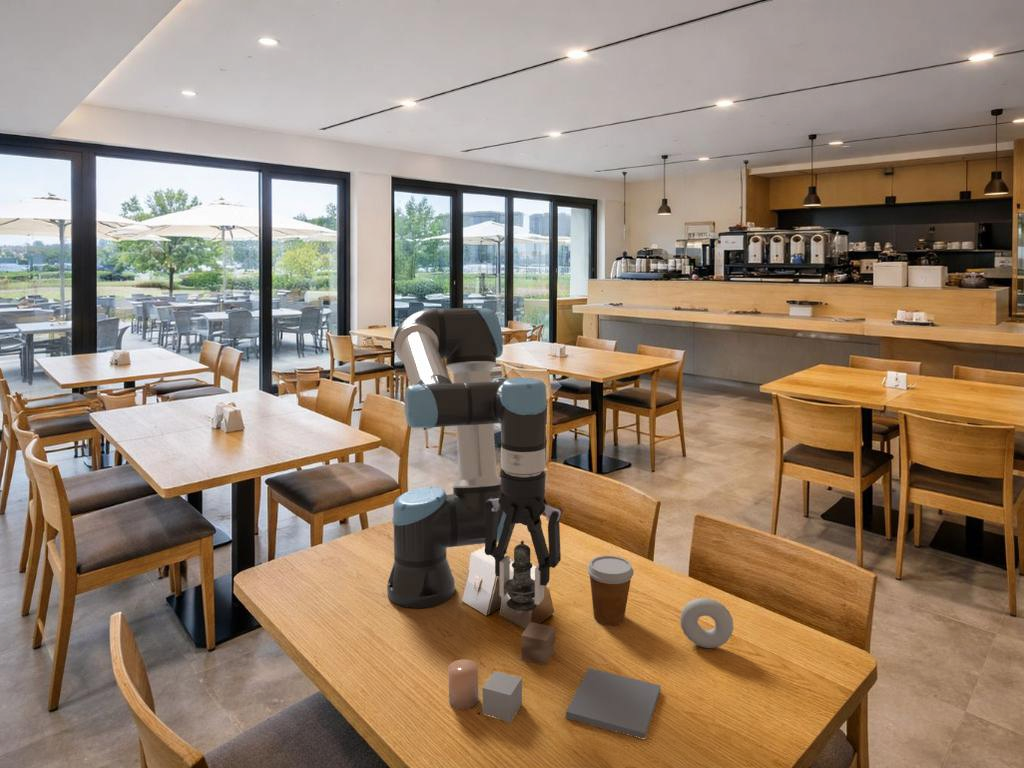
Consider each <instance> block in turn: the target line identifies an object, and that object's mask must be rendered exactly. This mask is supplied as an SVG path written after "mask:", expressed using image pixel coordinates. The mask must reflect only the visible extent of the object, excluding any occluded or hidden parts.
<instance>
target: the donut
mask: <svg viewBox="0 0 1024 768" xmlns="http://www.w3.org/2000/svg"><path fill="white" fill-rule="evenodd" d="M730 612H731V611H729V610H728V609H727V607H726V606H725V605H724V604H722V603H721V602H720V601H718V600H716V599H713V598H709V597H697V598H693V599H692V600H690V601H688V603H686V604H685V605H684V607H683V608H682V610H681V612H680V617H679V620H680V627H681V629H682V631H683V633H684V635H685V636H686V638H687V639H688V640H689V641H690V642H692V643H693V644H695V645H697V646H699V647H701V648H704V649H706V648H707V649H714V648H717V647H722V646H723V645H725V644H726V643H727V642H728V641H729V640H730V639H731V637H732V636H733V632H734V631H733V630H734V628H735V627H734V619H733V617H732V615H731V613H730ZM703 616H705V617H706V616H707V617H709V618H711V619H712V620H713V621H714V623H715V625H714V627H713V628H711V629H704V628H703V627H701V625H699V619H700V618H702V617H703Z"/></svg>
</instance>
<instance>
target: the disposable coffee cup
mask: <svg viewBox="0 0 1024 768" xmlns="http://www.w3.org/2000/svg"><path fill="white" fill-rule="evenodd" d="M586 570H587V572H588V573H587V574H588V575H589V582H590V591H591V601H592V611H593V618H594V620H595V621H596V622H598V623H599V624H602V625H606V626H616V625H619V624H622V623H624V620H625V615H626V611H627V610H626V608H627V603H628V598H629V592H630V586H631V580H632V579H633V576H634V569H633V567H632V564H631V562H630V560H628V559H625V558H624V557H620V556H616V555H600V556H599V555H598V556H595V557H594V558H592V559H591V560H590V562H589V564H588V566H587V569H586Z"/></svg>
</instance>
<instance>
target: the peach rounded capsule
mask: <svg viewBox="0 0 1024 768" xmlns="http://www.w3.org/2000/svg"><path fill="white" fill-rule="evenodd" d="M478 671H479V667H478V664H477V663H476V661H473V660H470V659H457V660H455V661H453V662H451V663H450V664H449V666H448V668H447V676H448V677H447V679H448V702H449V705H450V706H451V708H453V707H454V709H456V708H457V709H456V710H460V709H465V710H469V709H468V708H470V709H472V708H474V707H475V706H476V705H477V704H478V703H479V674H478V673H479V672H478ZM471 707H472V708H471Z"/></svg>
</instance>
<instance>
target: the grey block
mask: <svg viewBox="0 0 1024 768" xmlns="http://www.w3.org/2000/svg"><path fill="white" fill-rule="evenodd" d="M481 689H482V715H483V714H486V715H490V716H494V717H496V718H495V719H497V718H499V719H498V720H500V719H501V720H500V721H503V720H505V722H507V721H508V722H507V723H511V722H512V721H513V719H514V718H513V717H515V716H516V715H517V713H518V711H519V709H520V708H521V706H522V705H521V704H523V677H520V676H517V675H514V674H508V673H506V672H505V673H504V672H501V671H497V670H494V671H493V673H491V675H490V677H489V678H488V679H487V680H486V682H485V683H484V685H483V686H482V688H481ZM516 712H517V713H516ZM486 715H485V716H486ZM490 716H489V717H490Z"/></svg>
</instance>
